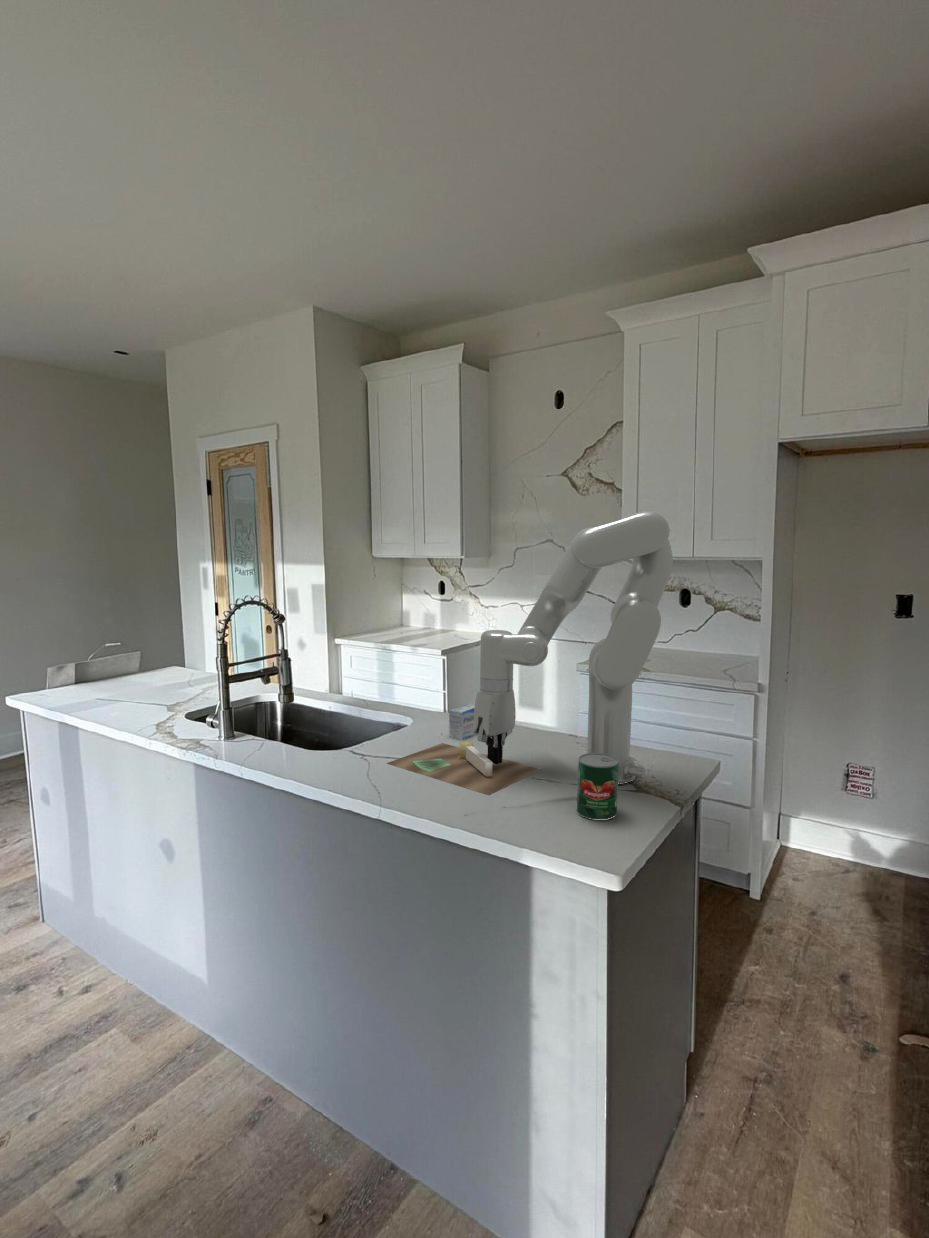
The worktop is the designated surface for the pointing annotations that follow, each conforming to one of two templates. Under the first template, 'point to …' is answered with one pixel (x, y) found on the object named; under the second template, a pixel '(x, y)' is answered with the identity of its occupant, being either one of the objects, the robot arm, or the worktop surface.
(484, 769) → the pointer
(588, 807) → the canned tomato
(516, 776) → the dial board
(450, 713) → the medicine box
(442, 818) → the worktop surface
